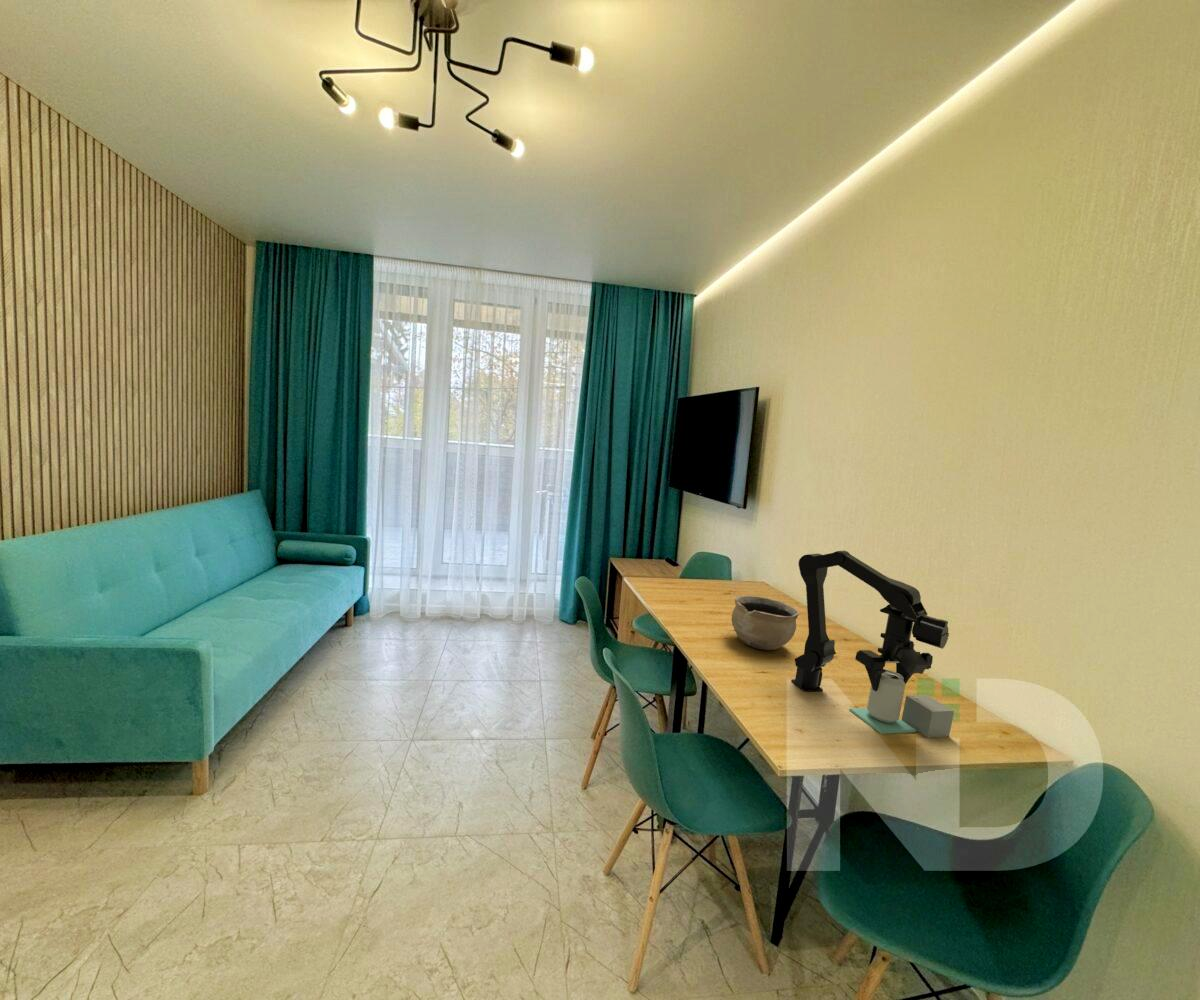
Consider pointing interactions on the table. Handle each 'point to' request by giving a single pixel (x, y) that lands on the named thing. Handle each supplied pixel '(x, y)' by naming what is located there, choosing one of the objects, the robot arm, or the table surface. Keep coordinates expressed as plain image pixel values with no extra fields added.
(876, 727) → the mat
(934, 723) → the unit
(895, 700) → the can
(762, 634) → the ceramic bowl
